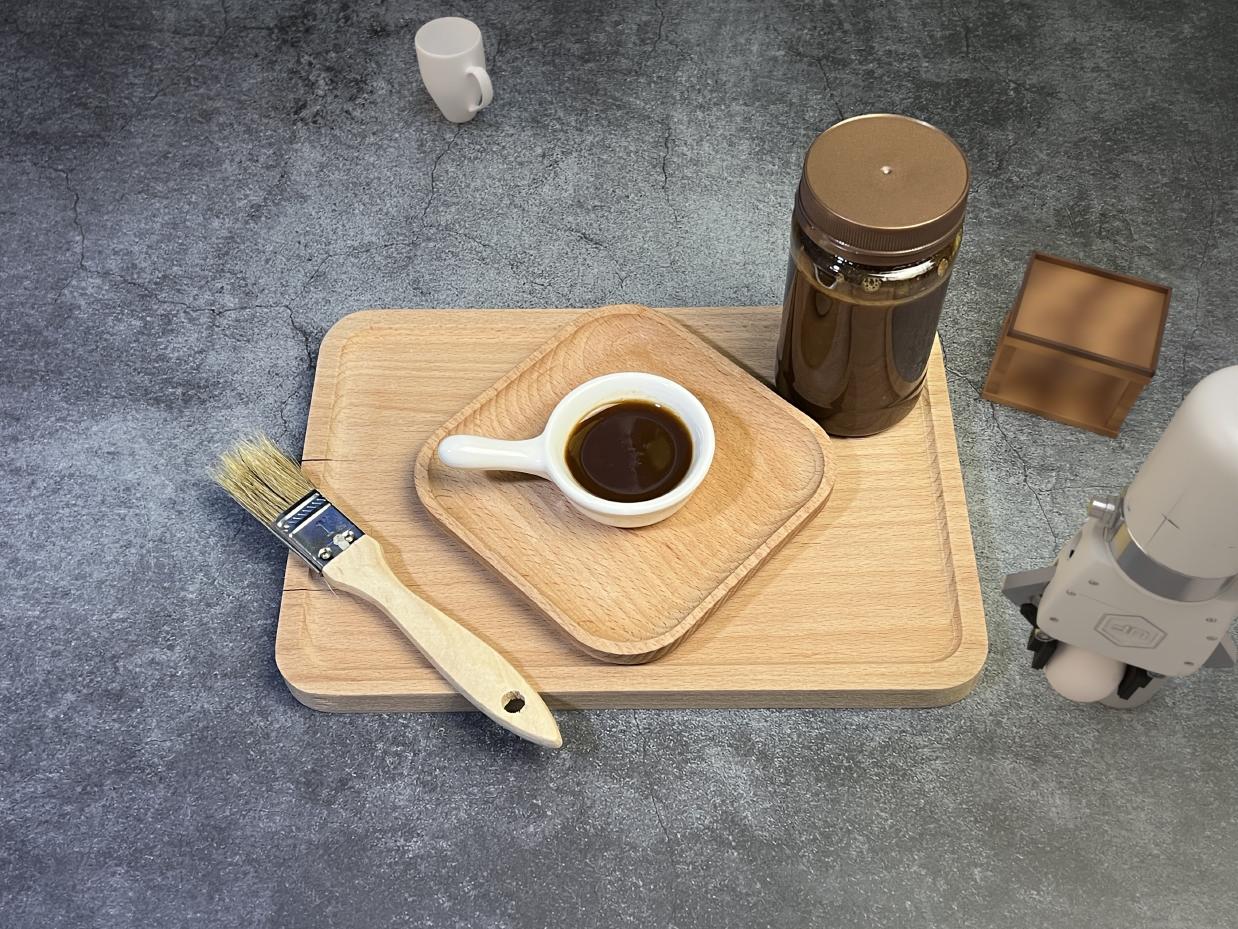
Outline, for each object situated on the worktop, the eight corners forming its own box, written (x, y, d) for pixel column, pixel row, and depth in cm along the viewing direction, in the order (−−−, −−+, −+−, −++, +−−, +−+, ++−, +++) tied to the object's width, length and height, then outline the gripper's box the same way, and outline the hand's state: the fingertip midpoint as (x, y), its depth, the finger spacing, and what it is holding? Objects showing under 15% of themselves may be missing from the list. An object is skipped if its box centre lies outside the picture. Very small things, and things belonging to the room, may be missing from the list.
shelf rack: (1133, 356, 120) (1173, 287, 111) (1115, 439, 114) (1155, 373, 105) (1005, 319, 123) (1033, 249, 114) (980, 398, 117) (1008, 330, 108)
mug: (416, 110, 145) (400, 33, 136) (467, 84, 148) (456, 7, 139) (469, 156, 140) (456, 80, 131) (521, 128, 143) (512, 51, 134)
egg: (1084, 641, 83) (1117, 595, 77) (1121, 704, 80) (1158, 662, 74) (1020, 659, 82) (1048, 615, 76) (1054, 724, 79) (1087, 683, 73)
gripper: (1017, 543, 64) (950, 670, 79) (1334, 642, 60) (1200, 757, 75) (1041, 445, 68) (973, 584, 83) (1341, 532, 64) (1212, 662, 79)
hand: (1082, 665), depth 79 cm, fingers closed on egg, 5 cm apart
